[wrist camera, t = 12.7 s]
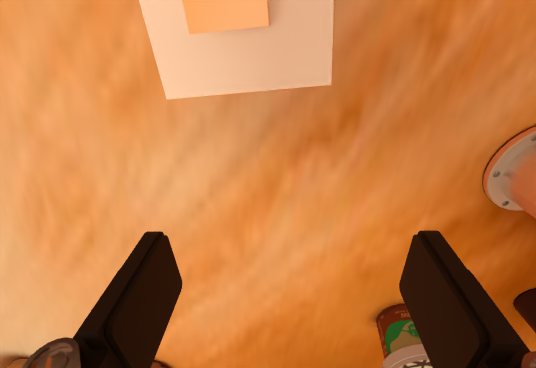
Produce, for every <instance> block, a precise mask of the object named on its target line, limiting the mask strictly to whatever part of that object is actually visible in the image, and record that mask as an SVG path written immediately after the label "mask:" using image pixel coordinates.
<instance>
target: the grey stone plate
mask: <svg viewBox="0 0 536 368" xmlns="http://www.w3.org/2000/svg"><path fill="white" fill-rule="evenodd" d="M151 368H167V367H164V366H161V364H160V363H158V362H153V363H152V366H151Z"/></svg>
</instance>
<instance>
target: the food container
mask: <svg viewBox="0 0 536 368" xmlns="http://www.w3.org/2000/svg"><path fill="white" fill-rule="evenodd" d="M376 322H377V327H378V331H379V336H380V340H381V345H382V350H383V354H384V359H385V360H384V361H383V364H382V367H383V368H432V366H431V363H430V361H429V359H428V356H427V354H426V352H425V349H424V347H423V344H422V342H421V340H420V337H419V335H418V333H417V330H416V328H415V326H414V323H413V321H412V319H411V316H410V314H409V312H408V309H407V307H406V304H397V305H393V306H390V307H388V308H386V309H385V310H383V311H382V312H381V313H380V314H379V315H378V317H377V320H376Z"/></svg>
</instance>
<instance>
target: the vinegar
mask: <svg viewBox="0 0 536 368" xmlns="http://www.w3.org/2000/svg"><path fill="white" fill-rule="evenodd" d="M514 306H515V309H516V310H517V311H518V312H519V313H520V315H521V316H522V317H523V318H524V319H525V321H526V322H527V323H528V324H529V325H530V327H531V328H532V329H533V330H534V331H535V333H536V289H533V290H529V291H527V292H525V293H523V294H522V295H520V296H519V297H518V298H517V299H516V300H515V303H514Z"/></svg>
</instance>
